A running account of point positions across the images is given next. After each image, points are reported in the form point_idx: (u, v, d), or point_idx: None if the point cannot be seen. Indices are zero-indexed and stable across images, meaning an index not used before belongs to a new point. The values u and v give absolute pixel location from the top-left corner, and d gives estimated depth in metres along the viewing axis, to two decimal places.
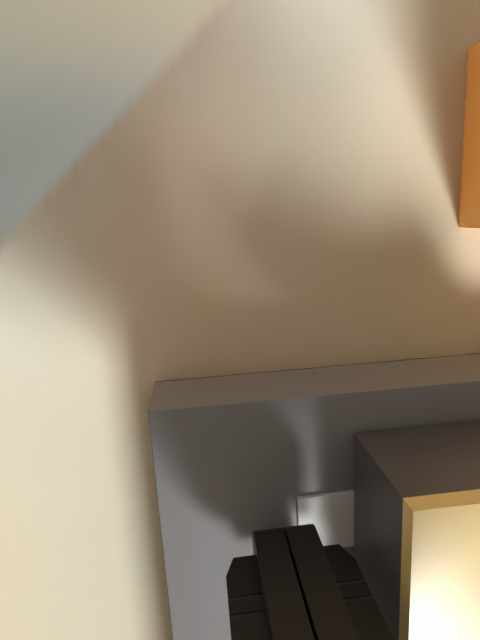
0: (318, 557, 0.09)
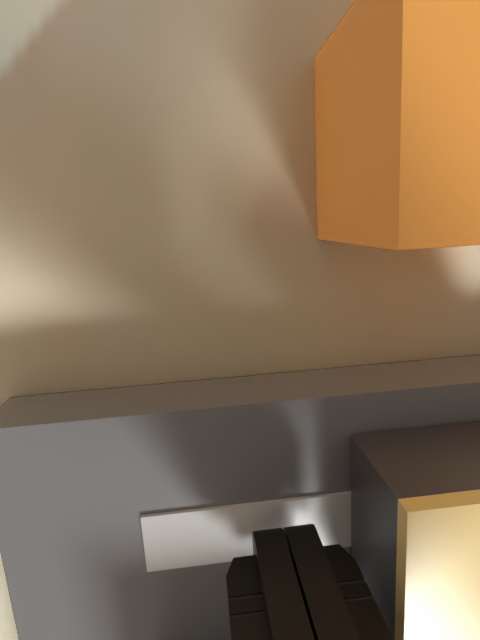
0: (318, 557, 0.09)
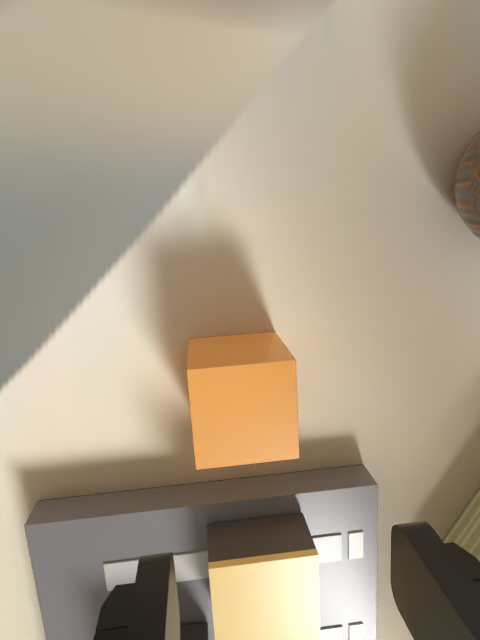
0: (443, 555, 0.09)
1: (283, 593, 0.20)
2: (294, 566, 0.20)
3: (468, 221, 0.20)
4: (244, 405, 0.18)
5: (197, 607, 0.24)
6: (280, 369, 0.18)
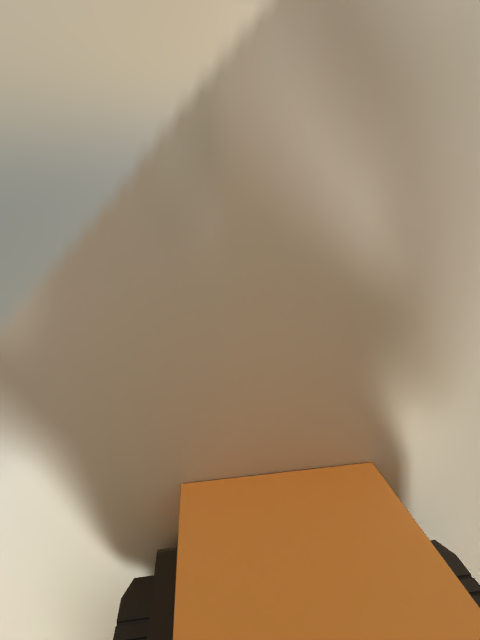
0: None
1: None
2: None
3: None
4: None
5: None
6: None
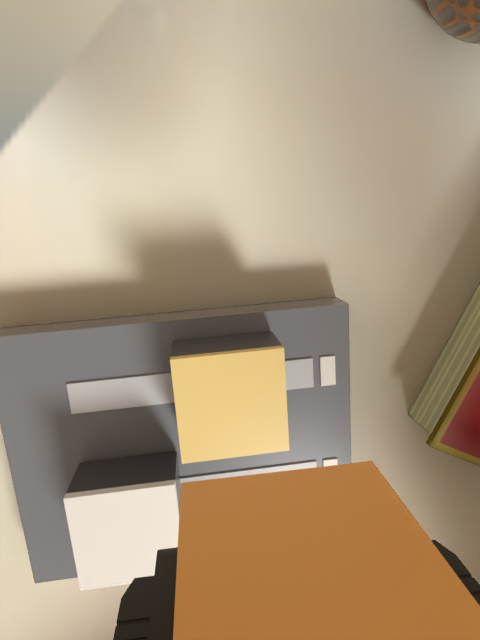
0: None
1: (248, 390, 0.20)
2: (259, 360, 0.19)
3: (435, 4, 0.20)
4: None
5: (166, 436, 0.23)
6: None
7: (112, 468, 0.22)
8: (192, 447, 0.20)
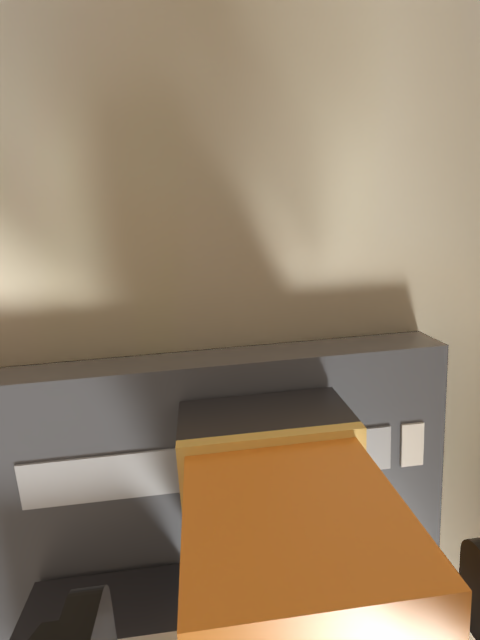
0: None
1: None
2: None
3: None
4: None
5: (167, 540, 0.15)
6: (430, 616, 0.07)
7: None
8: None
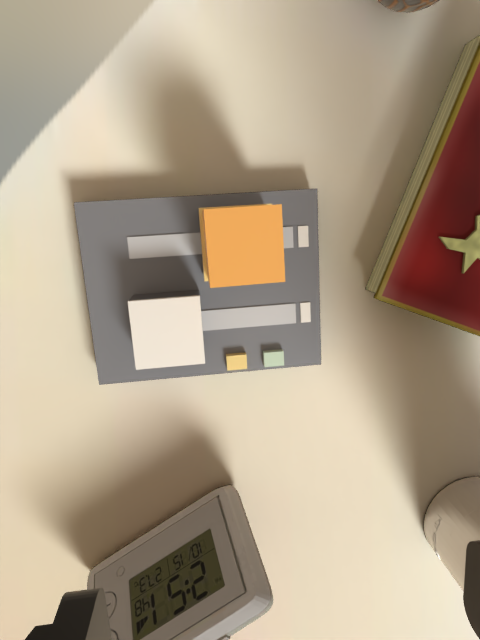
0: None
1: None
2: None
3: None
4: (245, 238, 0.26)
5: (192, 279, 0.34)
6: (270, 211, 0.25)
7: (156, 294, 0.33)
8: None
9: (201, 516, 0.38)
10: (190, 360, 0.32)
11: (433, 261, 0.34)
